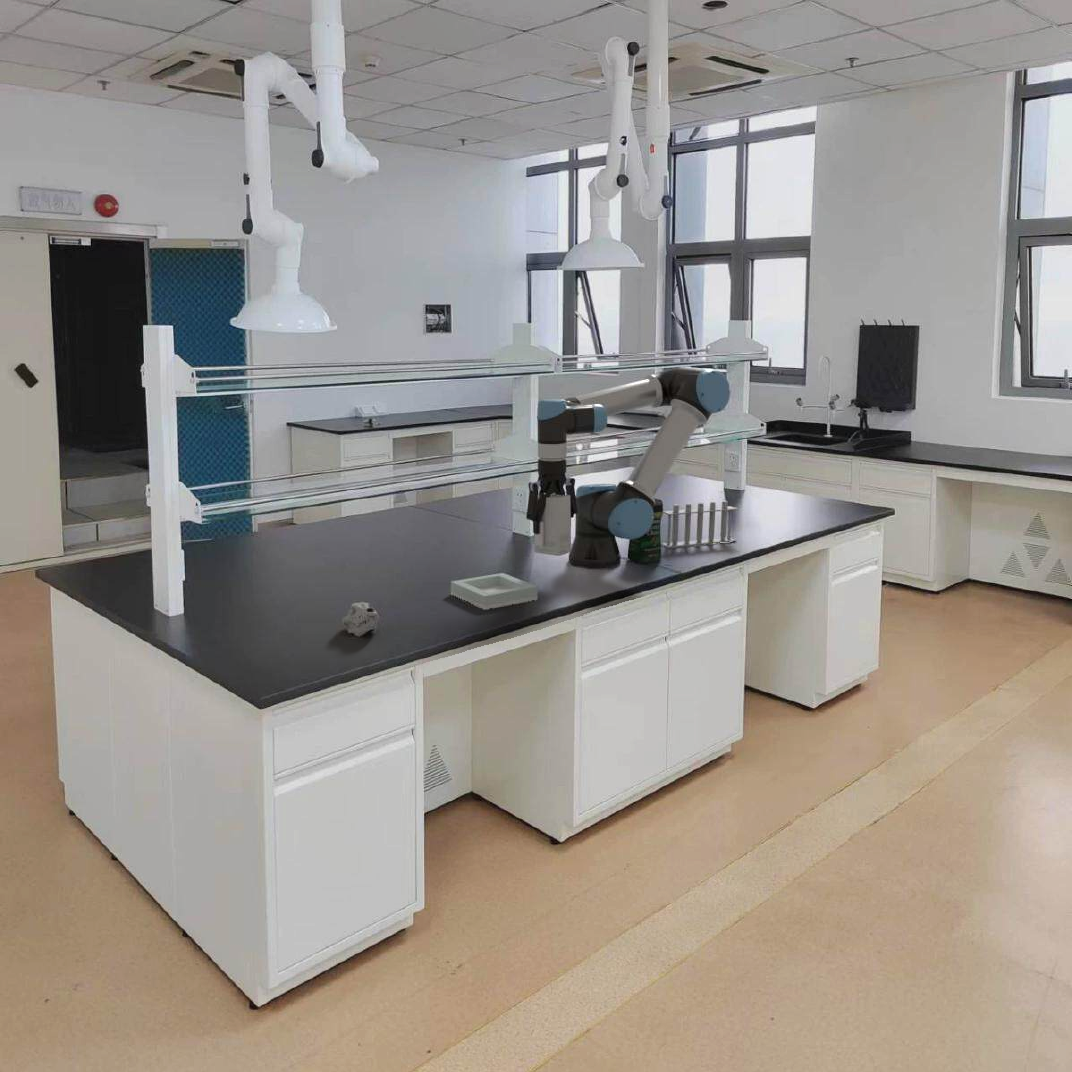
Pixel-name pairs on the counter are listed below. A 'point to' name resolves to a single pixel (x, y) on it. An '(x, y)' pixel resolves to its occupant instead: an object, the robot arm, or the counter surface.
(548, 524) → the skincare box
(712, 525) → the test tube rack
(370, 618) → the skull
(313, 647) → the counter surface
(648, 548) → the coffee jar
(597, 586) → the counter surface
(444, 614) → the counter surface
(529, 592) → the square shallow tray
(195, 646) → the counter surface
